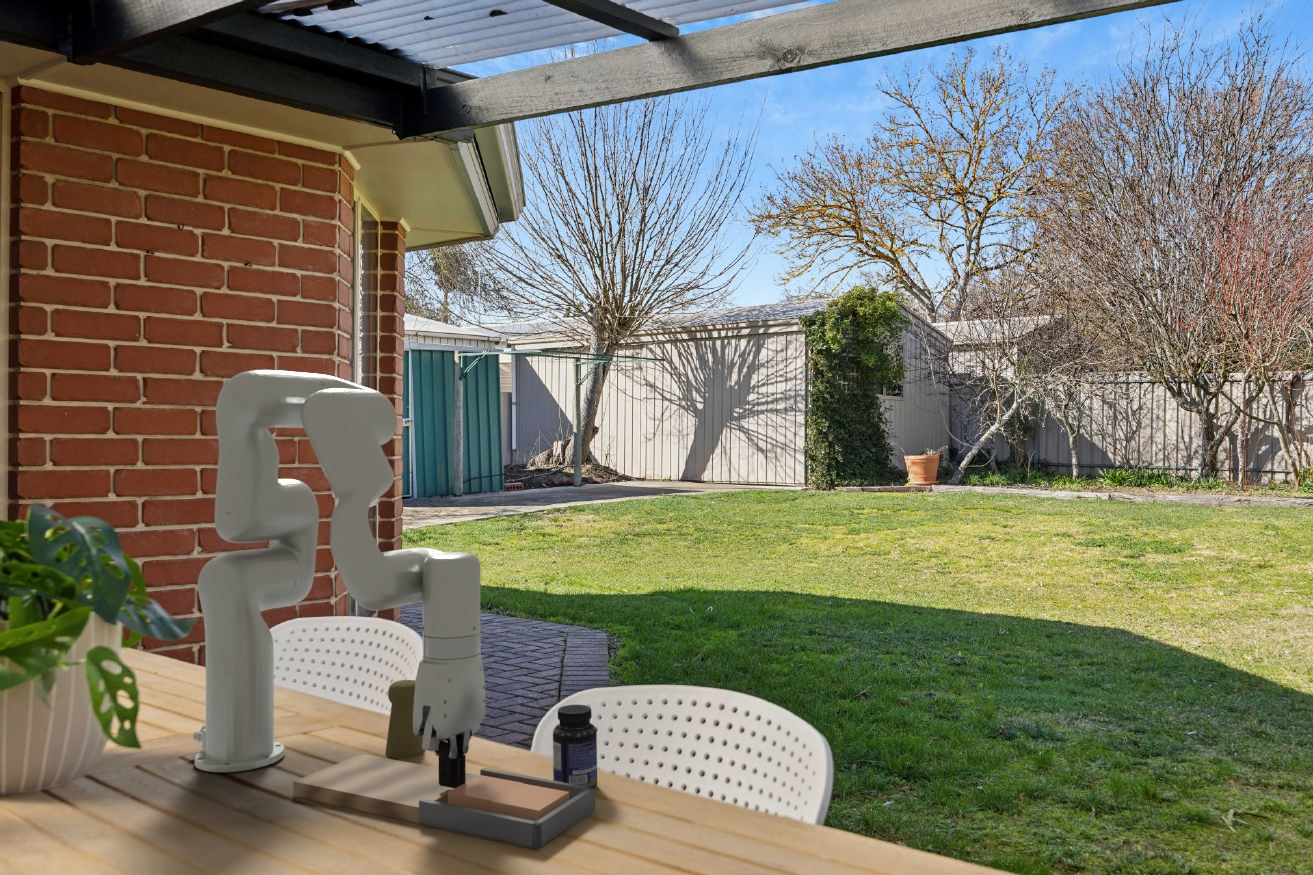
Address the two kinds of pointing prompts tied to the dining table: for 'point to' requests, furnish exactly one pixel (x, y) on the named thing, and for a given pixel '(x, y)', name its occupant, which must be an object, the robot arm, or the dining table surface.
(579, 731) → the pill bottle
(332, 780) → the board
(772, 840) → the dining table surface
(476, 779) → the tile rear
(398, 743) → the cork
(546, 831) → the tray
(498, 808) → the tile front
